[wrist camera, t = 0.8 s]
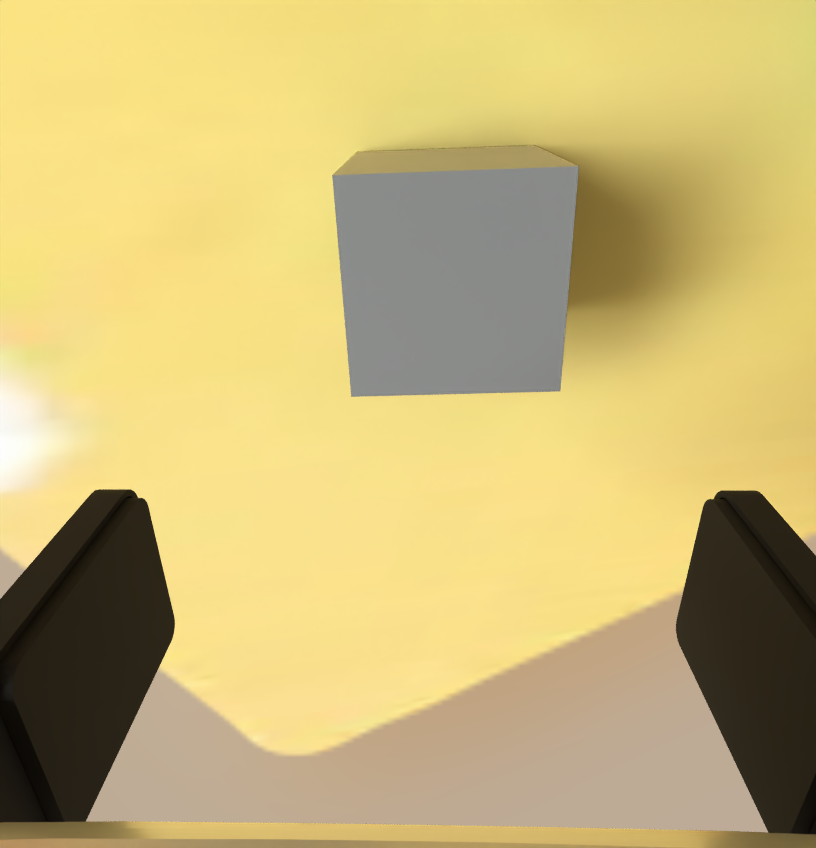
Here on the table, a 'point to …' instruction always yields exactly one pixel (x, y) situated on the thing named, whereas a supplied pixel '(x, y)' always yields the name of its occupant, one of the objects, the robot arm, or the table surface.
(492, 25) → the table surface
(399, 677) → the table surface
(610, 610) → the table surface
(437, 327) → the grey tapered block
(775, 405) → the table surface
